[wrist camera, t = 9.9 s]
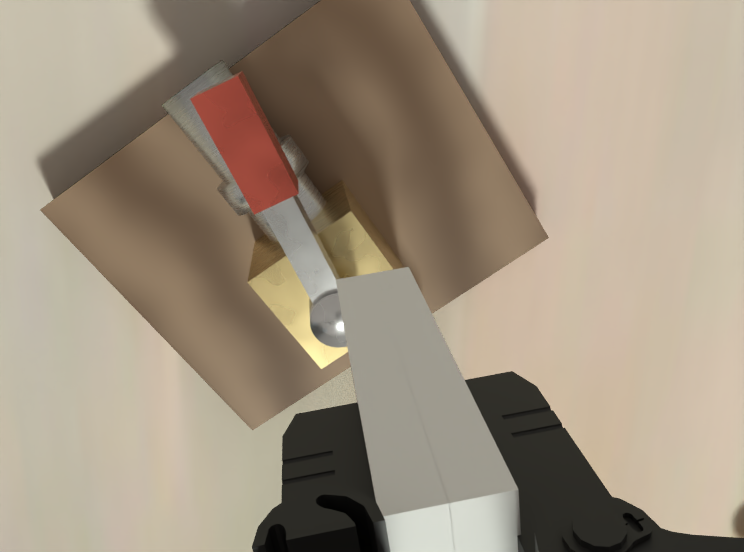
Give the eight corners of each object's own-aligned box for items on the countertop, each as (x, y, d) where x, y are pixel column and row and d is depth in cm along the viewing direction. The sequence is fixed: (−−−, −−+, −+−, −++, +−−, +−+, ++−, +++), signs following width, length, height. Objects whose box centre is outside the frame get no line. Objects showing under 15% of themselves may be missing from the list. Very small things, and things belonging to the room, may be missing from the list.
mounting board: (254, 412, 42) (252, 430, 40) (53, 199, 35) (39, 209, 33) (536, 227, 39) (548, 237, 37) (377, -43, 32) (382, -46, 30)
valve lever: (372, 312, 30) (378, 333, 28) (323, 334, 30) (325, 357, 28) (249, 67, 25) (245, 72, 23) (191, 95, 25) (182, 102, 23)
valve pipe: (359, 364, 40) (371, 434, 33) (153, 112, 33) (116, 137, 26) (438, 313, 39) (467, 374, 32) (245, 43, 32) (232, 50, 25)
